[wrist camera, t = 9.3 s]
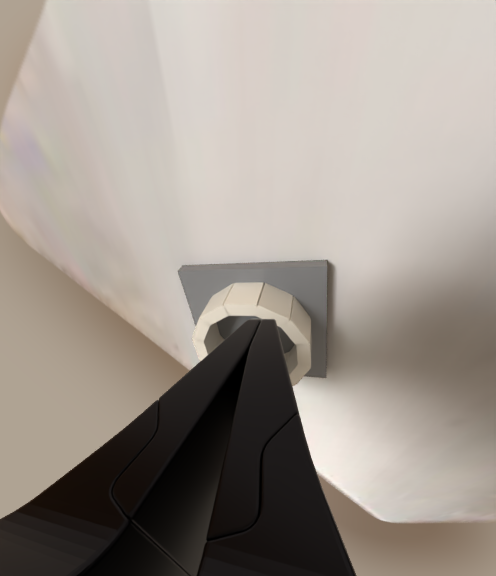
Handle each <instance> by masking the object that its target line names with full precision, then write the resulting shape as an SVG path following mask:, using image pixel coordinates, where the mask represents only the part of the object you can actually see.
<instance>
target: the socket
mask: <svg viewBox="0 0 496 576" xmlns="http://www.w3.org/2000/svg"><path fill="white" fill-rule="evenodd" d="M178 274H179V277H180V280H181V283H182V286H183V289H184V292H185V295H186V298H187V301H188V304H189V307H190V310H191V313H192V316H193V319H194V322H195V325H196V328H195V331H194V333H193V336H192V341H193V344H194V346H195V349H196V352H197V355H198V358H199V360H200V361H201V360H203V359H204V358H205V357H206V356H207V355H208V354H209V353H210V352H212V351H213V350H214V349H215V348H216V347H217V346H218V345H219V344H221V343H222V342H223V341H224V340H225V339H226V338H227V337H228V336H230V335H231V334H232V333H233V332H234V331H235V330H236V329H237V328H239V327H240V326H241V325H242V324H243V323H244V322H245V321H247V320H248V319H253V318H260V319H275V320H276V323H277V327H278V331H279V335H280V339H281V343H282V347H283V351H284V355H285V359H286V363H287V367H288V371H289V375H290V379H291V383H292V386H294V385H295V384H297V383H298V382H299V381H300V380H301V379H302V378H303V376H307V377H320V378H326V348H327V260H314V261H288V262H262V263H236V264H210V265H184V266H182V267H181V268H180V269H179V270H178Z"/></svg>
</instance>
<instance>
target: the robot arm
mask: <svg viewBox="0 0 496 576" xmlns="http://www.w3.org/2000/svg"><path fill="white" fill-rule="evenodd" d="M0 576H356V573H355V571H354V568H353V566H352V563H351V561H350V558H349V556H348V553H347V550H346V548H345V545H344V543H343V540H342V538H341V535H340V533H339V530H338V527H337V525H336V522H335V520H334V517H333V515H332V512H331V509H330V507H329V505H328V502H327V499H326V497H325V494H324V492H323V489H322V486H321V483H320V481H319V478H318V475H317V472H316V469H315V467H314V464H313V461H312V458H311V455H310V451H309V448H308V445H307V441H306V438H305V434H304V430H303V426H302V422H301V418H300V416H299V411H298V407H297V403H296V399H295V395H294V391H293V387H292V383H291V379H290V375H289V371H288V367H287V363H286V359H285V355H284V351H283V347H282V343H281V339H280V335H279V331H278V327H277V323H276V320H275V319H263V320H260V319H248V320H247V321H245V322H244V323H243V324H242V325H241V326H240V327H239V328H237V329H236V330H235V331H234V332H233V333H232V334H231V335H230V336H228V337H227V338H226V339H225V340H224V341H223V342H222V343H221V344H219V345H218V346H217V347H216V348H215V349H214V350H213V351H212V352H210V353H209V354H208V355H207V356H206V357H205V358H204V359H203V360H201V361H200V362H199V363H198V364H197V365H196V366H195V367H194V368H192V369H191V370H190V371H189V372H188V373H187V374H186V375H185V376H184V377H182V378H181V379H180V380H179V381H178V382H177V383H176V384H175V385H173V386H172V387H171V388H170V389H169V390H168V391H167V392H166V393H164V394H163V395H162V396H161V397H160V398H159V400H157V401H155V402H154V403H153V404H152V405H151V406H150V407H148V408H147V409H146V410H145V411H144V412H143V413H142V414H141V415H139V416H138V417H137V418H136V419H135V420H134V421H132V422H131V423H130V424H129V425H128V426H126V427H125V428H124V429H123V430H122V431H120V432H119V433H118V434H117V435H115V436H114V437H113V438H112V439H110V440H109V441H108V442H107V443H105V444H104V445H103V446H102V447H100V448H99V449H98V450H96V451H95V452H94V453H92V454H91V455H90V456H89V457H87V458H86V459H85V460H83V461H82V462H81V463H80V464H78V465H77V466H76V467H74V468H73V469H72V470H70V471H69V472H68V473H67V474H65V475H64V476H63V477H62V478H60V479H59V480H58V481H56V482H55V483H54V484H52V485H51V486H50V487H48V488H47V489H46V490H44V491H43V492H42V493H41V494H40V495H38V496H37V497H35V498H34V499H33V500H31V501H30V502H28V503H27V504H25V505H24V506H22V507H20V508H19V509H17V510H16V511H14V512H13V513H11V514H9V515H7V516H5V517H3V518H2V519H0Z"/></svg>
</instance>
